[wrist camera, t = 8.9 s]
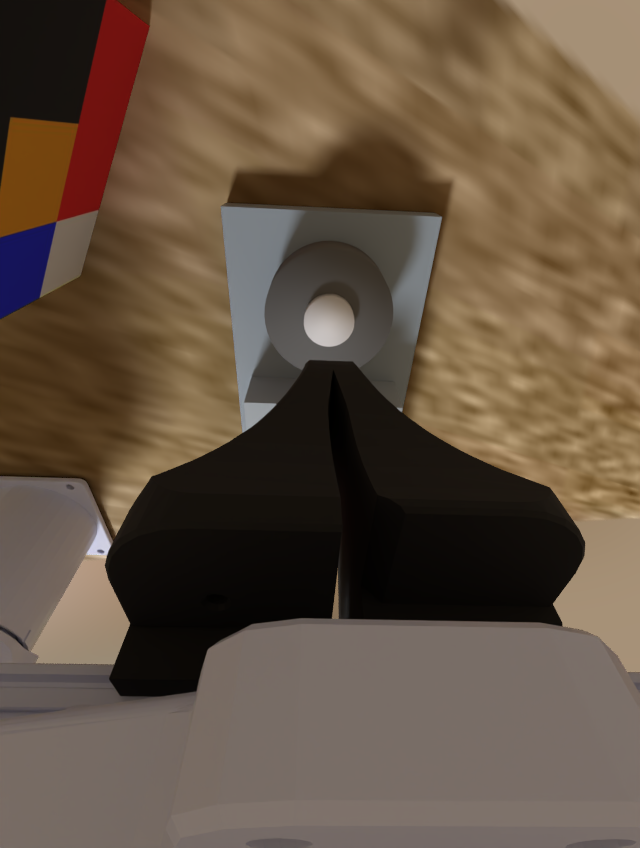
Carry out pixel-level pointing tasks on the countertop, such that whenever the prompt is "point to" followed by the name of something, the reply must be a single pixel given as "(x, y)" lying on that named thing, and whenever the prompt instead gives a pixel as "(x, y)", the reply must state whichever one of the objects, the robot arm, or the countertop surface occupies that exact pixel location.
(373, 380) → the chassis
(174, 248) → the countertop surface
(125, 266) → the countertop surface
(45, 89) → the puzzle toy
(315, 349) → the wheel
